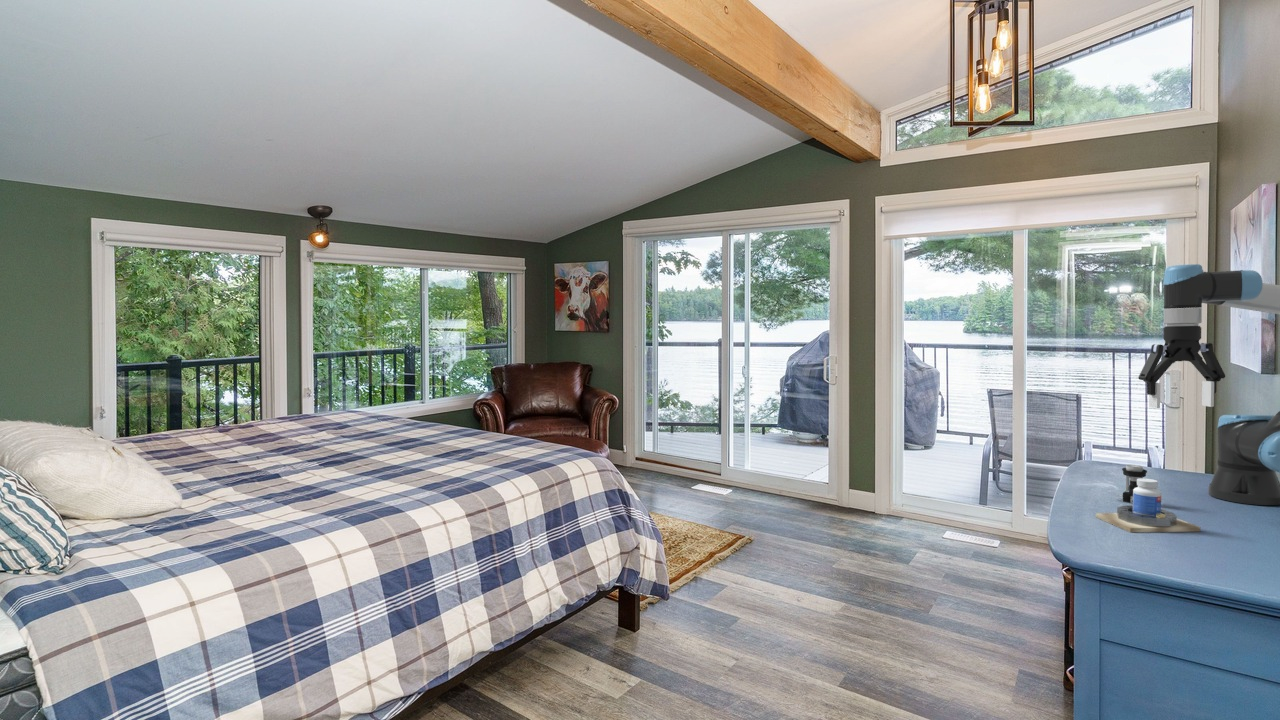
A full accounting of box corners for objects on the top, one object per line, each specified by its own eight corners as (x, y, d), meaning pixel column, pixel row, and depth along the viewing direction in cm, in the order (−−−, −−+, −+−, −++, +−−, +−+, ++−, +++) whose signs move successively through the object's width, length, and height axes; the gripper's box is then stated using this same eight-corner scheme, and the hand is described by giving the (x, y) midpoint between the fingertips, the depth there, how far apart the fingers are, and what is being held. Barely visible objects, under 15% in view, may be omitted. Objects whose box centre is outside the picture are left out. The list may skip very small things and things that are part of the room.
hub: (1151, 513, 162) (1152, 502, 162) (1187, 526, 151) (1188, 514, 151) (1107, 513, 162) (1107, 502, 162) (1139, 527, 151) (1139, 515, 151)
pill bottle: (1162, 524, 153) (1163, 483, 152) (1133, 521, 156) (1134, 481, 155) (1159, 518, 157) (1159, 478, 157) (1131, 515, 160) (1132, 476, 160)
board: (1160, 516, 162) (1160, 512, 162) (1200, 531, 150) (1200, 527, 150) (1095, 517, 163) (1095, 513, 163) (1130, 532, 151) (1130, 528, 151)
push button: (1114, 502, 176) (1114, 465, 175) (1117, 498, 179) (1118, 462, 179) (1144, 506, 171) (1145, 469, 170) (1147, 502, 175) (1148, 465, 174)
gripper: (1218, 323, 170) (1217, 403, 171) (1122, 326, 170) (1121, 406, 171) (1244, 323, 162) (1243, 407, 163) (1144, 326, 163) (1143, 409, 164)
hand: (1181, 407), depth 167 cm, fingers open, 13 cm apart
